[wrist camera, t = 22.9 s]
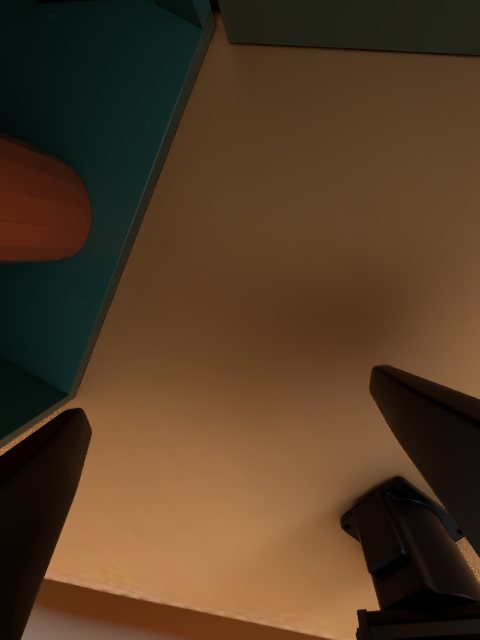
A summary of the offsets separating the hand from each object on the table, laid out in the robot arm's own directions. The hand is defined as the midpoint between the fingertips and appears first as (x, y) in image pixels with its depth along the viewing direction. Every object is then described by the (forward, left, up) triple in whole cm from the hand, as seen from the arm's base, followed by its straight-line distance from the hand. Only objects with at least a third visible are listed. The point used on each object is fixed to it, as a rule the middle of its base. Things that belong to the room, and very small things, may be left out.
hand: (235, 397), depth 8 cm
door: (0, -21, -10) cm, 23 cm away
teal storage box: (+19, +3, -11) cm, 22 cm away
